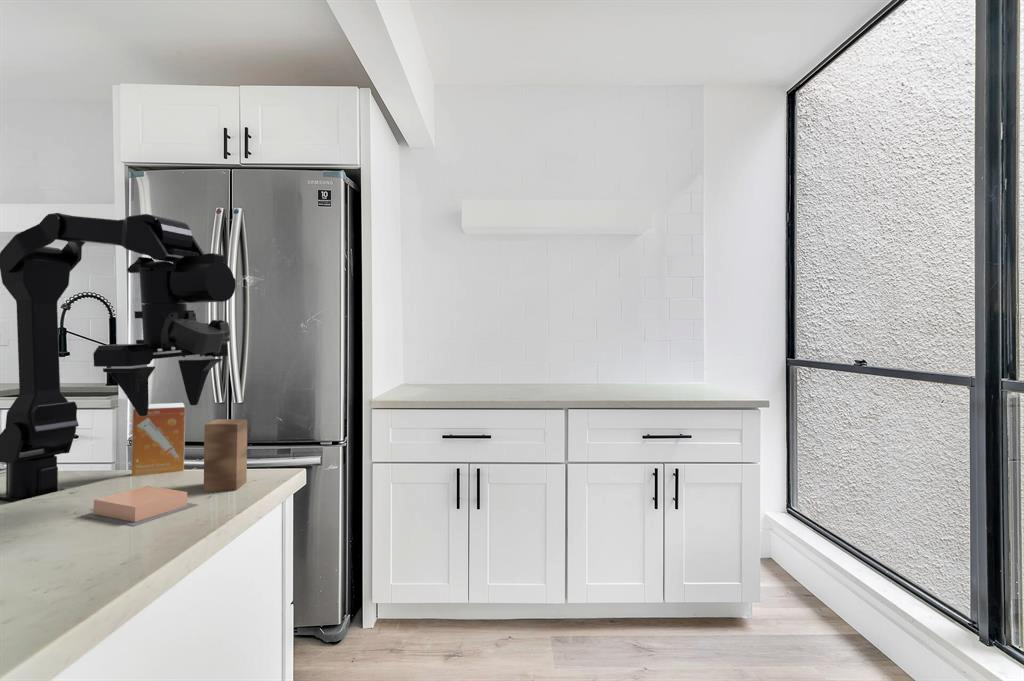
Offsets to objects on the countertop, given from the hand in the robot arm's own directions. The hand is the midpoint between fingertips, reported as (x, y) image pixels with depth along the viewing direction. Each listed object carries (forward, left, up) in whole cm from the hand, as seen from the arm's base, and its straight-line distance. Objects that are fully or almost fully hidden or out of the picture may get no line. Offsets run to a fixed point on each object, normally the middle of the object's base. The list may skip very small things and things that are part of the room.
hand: (170, 410), depth 85 cm
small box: (-18, +16, -16) cm, 29 cm away
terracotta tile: (-1, -3, -14) cm, 14 cm away
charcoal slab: (-1, -3, -16) cm, 16 cm away
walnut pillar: (+1, +11, -15) cm, 19 cm away
